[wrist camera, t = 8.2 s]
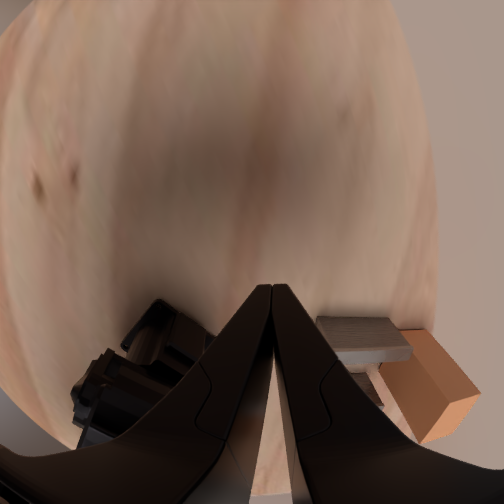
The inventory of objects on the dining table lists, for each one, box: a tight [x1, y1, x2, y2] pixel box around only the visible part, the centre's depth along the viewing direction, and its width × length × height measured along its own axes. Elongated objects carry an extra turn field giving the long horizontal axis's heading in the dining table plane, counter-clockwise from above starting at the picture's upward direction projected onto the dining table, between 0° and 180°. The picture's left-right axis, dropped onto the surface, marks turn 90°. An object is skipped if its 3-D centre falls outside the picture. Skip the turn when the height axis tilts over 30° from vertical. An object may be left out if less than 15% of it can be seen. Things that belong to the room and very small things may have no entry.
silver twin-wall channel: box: [316, 316, 414, 410], centre depth 23 cm, size 7×8×5 cm
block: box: [379, 330, 481, 444], centre depth 21 cm, size 4×5×10 cm
